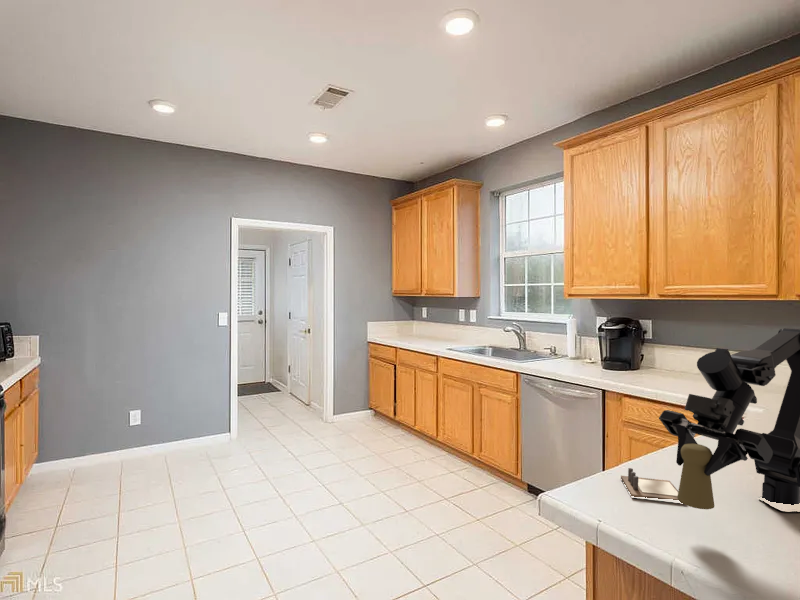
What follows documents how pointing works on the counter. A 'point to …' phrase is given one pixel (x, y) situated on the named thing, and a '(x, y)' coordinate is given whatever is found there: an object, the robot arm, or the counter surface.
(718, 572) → the counter surface
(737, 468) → the counter surface
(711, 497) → the cork
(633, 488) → the pin board
